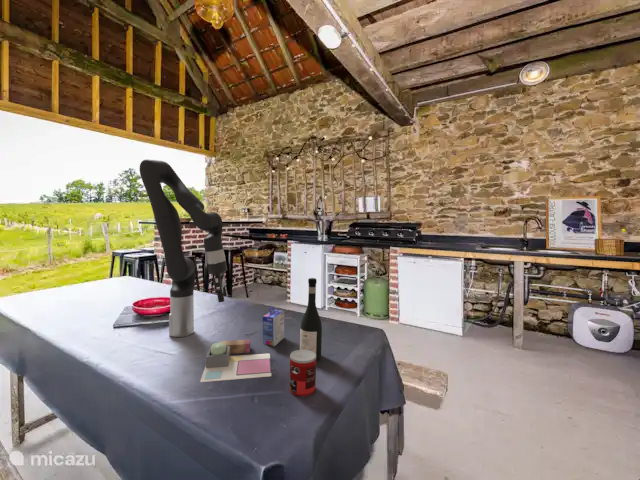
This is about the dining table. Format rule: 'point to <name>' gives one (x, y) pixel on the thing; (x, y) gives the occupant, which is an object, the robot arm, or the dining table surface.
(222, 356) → the button housing
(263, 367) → the colouring board
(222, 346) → the button
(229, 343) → the wooden block
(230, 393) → the dining table surface
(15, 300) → the dining table surface
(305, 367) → the canned food
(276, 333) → the ink cartridge box
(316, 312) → the wine bottle
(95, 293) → the dining table surface
